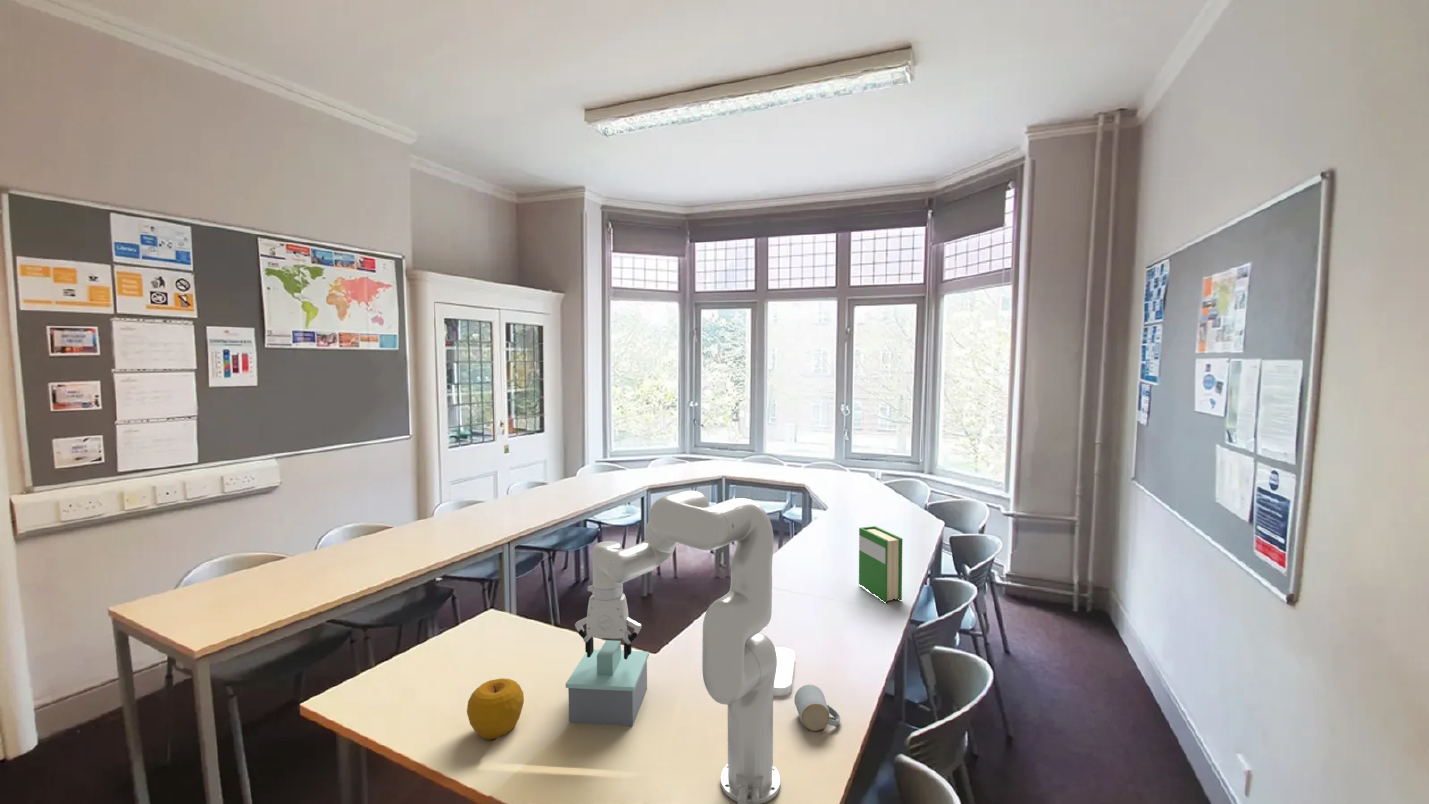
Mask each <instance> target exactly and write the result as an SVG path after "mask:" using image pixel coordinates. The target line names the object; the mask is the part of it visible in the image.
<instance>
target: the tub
mask: <svg viewBox="0 0 1429 804" xmlns="http://www.w3.org/2000/svg"><path fill="white" fill-rule="evenodd" d="M647 661H648V660H647ZM647 661H646V664H645V666H644V668H643V671H642V673H641V676H640V678H639V680H638V683H637V685H636V687H635V690H634V691H620V690H600V689H579V688H567V689H568V690H567V691H568V722H569V723H572V724H573V723H574V724H588V725H589V724H591V725H606V726H607V725H608V726H609V725H610V726H624V727H626V726H627V727H629V726H630V727H634V724H635V721H636V719H637V717H638V714H639V711H640V709H641V706H642V704H643V700H644V698H645V695H646V692H647V690H648V662H647Z"/></svg>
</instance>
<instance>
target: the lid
mask: <svg viewBox="0 0 1429 804" xmlns="http://www.w3.org/2000/svg"><path fill="white" fill-rule="evenodd" d="M649 656H650V651H639V650H637V651H636V650H632V651H631V654H630V655H629V656H628V658H627V659H624V650H622V641H621V640H609V639H608V640H605V641H604V643H603V645H602V646H601V647H600V649H596V648H595V649H594V651H593V653H592V655H591V657H587V652H585V653H584V654H583V656H582V658H581V659H580V660H579V662H578V664H577V665H576V667H575V669H574V670H573V672H572V674H571V675H570V676H569V678H568V679H567V681H566V682H565V689H568V688H579V689H600V690H620V691H634V690H635V687H636V685H637V683H638V680H639V678H640V676H641V673H642V671H643V668H644V666H645V664H646V661H648V659H649Z"/></svg>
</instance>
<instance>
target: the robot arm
mask: <svg viewBox="0 0 1429 804" xmlns="http://www.w3.org/2000/svg"><path fill="white" fill-rule="evenodd" d="M648 520H649V521H648V522H647V524H646V525H645V528H644V529H645V530H644V531H645V537H646V539H645V540H644V541H642V542H639V543H636V544H633V545H631V546H627V547H625V548H623V547H622V544H621V543H619V542H618V541H614V540H608V541H607V540H604V541H600V542H598V543H596V544H595V545H594V546H593V548H592V585H591V584H590V585H587V592H591V593H592V594H591V595H590V596H589V599H588V606H587V615H586V617H584V618H582V619H579V620H577V621H576V622H575V623H574V626H575V629H576V631H577V632H578V635H579V636H580V637H581V638H582V639H583V642H584V645H585V647H584V651H585V653H586V652H587V657H591V655H592V653H593V651H594V647H595V646H594V638H597V639H598V638H599V639H614V640H616V639H618V640H619V639H622V640H623V642H624V644H623V651H624V659H627V658H628V656H629V655H630V654H631V651H633V650H632V642H633V641H634V640H635V639H636V638H637V637H638V636H639V635H638V634H639V633H640V631H641V629H642V627H643V625H642V624H641V623H639V622H637V621H636V620H634V619H632V618H630V617H629V609H628V603H627V598H626V595H625V593H624V583H626V582H629V581H630V580H633V579H636V578H638V577H639V576H642V575H645V574H648V573H651V572H652V571H655V570H656V569H657V568H658V567H660V566H661V565H662V564H664V562H666V561H667V560H668V559H669V558H670V557H671V556H672V555H673V554H674V552H675V549H676V547H677V546H678V545H679V544H681V545H683V546H687V547H690V548H693V549H697V550H701V551H715V550H718V549H720V548H723V547H725V546H727V545H729V544H733V543H734V542H736V548H735V551H734V553H733V556H732V560H731V565H730V588H729V590H728V591H727V593H726V594H724V595H723V596H721V597H719V598H718V599H716V600H714V601H713V602H712V603H711V604H709V606H708V608H707V609H706V611H705V615H704V617H703V620H702V621H703V622H702V655H701V657H702V660H701V661H702V663H701V664H702V665H701V667H702V669H701V670H702V678H703V679H702V680H703V683H704V686H705V689H706V691H707V693H708V695H709V696H710V697H711V698H712V700H714V701H715V702H716V703H718V704H720V705H727V764H726V765H725V766H724V768H723V769H722V770H721V774H720V786H721V788H722V789H721V790H722V791H723V793H724V794H725V795H726V796H727V797H729V799H731V800H732V801H734V802H737V804H766V803H767V802H769V801H772V800H773V798H775V797H776V796H777V795H778V794H779V791H780V789H781V776H780V773H779V771H778V769H777V768H776V767H775V766H774V695H773V691H774V683H775V677H776V670H777V654H776V650H775V647H776V646H775V645H774V644H773V642H772V640H771V639H770V638H769V637H768V636H767V635H765V634H764V633H762V631H763V630H764V629H765V628H766V627H767V626H768V625H769V624H770V622H771V618H772V614H773V613H772V612H773V610H772V608H773V606H772V605H773V599H772V598H773V557H774V555H773V554H774V538H775V537H774V531H773V526H772V521H771V519H770V517H769V516H768V514H767V512H766V510H764V508H763V507H762V506H761V505H760V504H759V503H757V502H756V501H754V500H753V499H749V498H746V497H736V498H731V499H727V500H723V501H721V502H718V503H715V504H713V505H710V502H709V500H708V499H707V496H705V495H704V494H703V493H702V492H700V491H697V490H689V489H688V490H683V491H680V492H675V493H673V494H669V495H665V496H662V497H660V498H658V499H656V500H655V502H653V503H652V504H651V507H650V509H649V512H648ZM584 625H586V628H584ZM630 627H631V628H632V629H634V630H633V632H632V633H631V632H630V630H629V628H630Z"/></svg>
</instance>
